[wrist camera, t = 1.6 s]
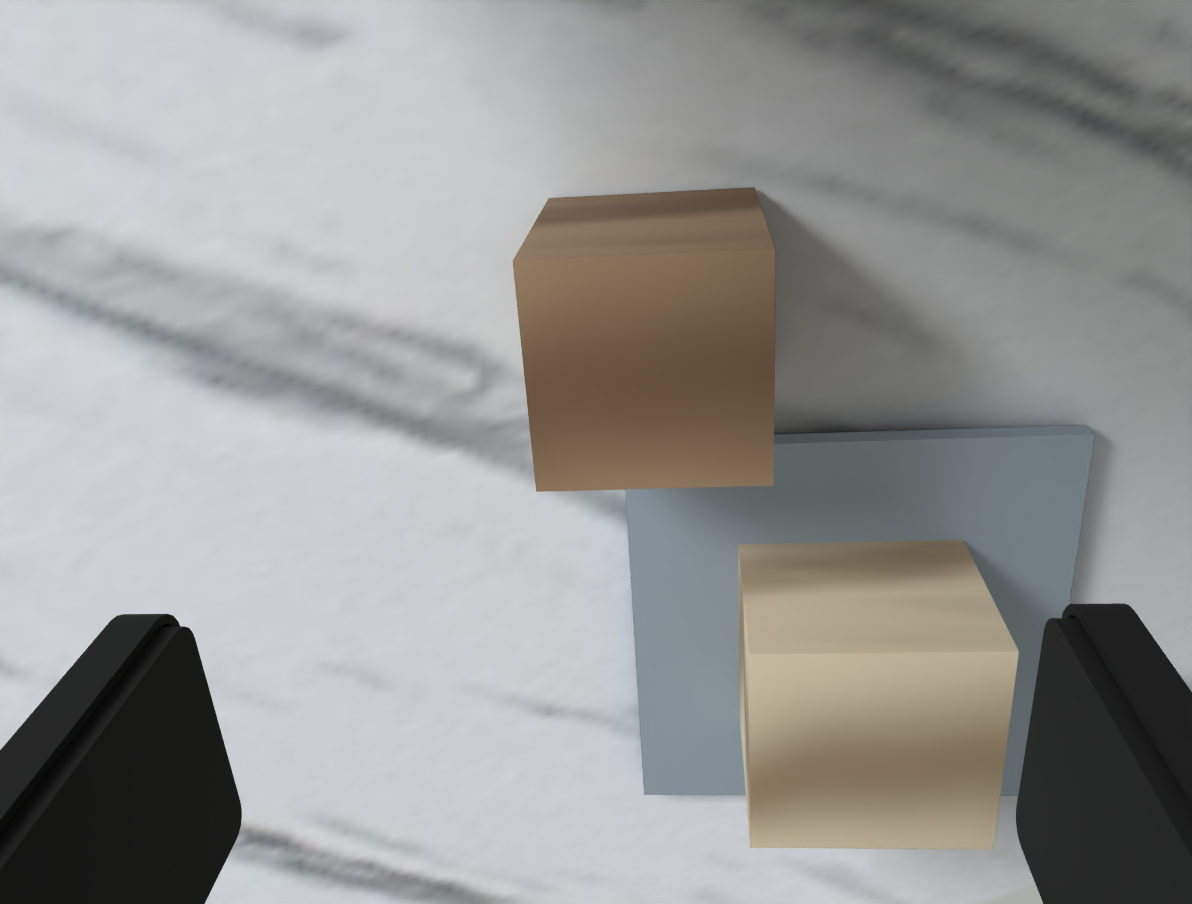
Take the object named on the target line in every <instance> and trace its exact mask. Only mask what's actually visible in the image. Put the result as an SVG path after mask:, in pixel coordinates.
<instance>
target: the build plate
mask: <svg viewBox="0 0 1192 904" xmlns="http://www.w3.org/2000/svg"><path fill="white" fill-rule="evenodd" d="M1094 437H1095V434H1094V433H1093V432H1092V431H1091V430H1090V428H1089V427H1088V426H1087V425H1070V426H1037V427H1004V428H971V429H938V430H905V431H873V432H840V433H807V434H774V486H737V487H698V488H658V489H626V506H627V522H628V538H629V555H630V571H631V587H632V604H633V620H634V636H635V653H636V669H637V685H638V702H639V718H640V734H641V751H642V767H643V783H644V795H746V789H745V777H744V764H743V752H742V739H741V727H740V687H739V580H738V544H778V543H827V542H876V541H925V540H964V542H965V544H966V546H967V548H968V550H969V552H970V554H971V556H972V558H973V560H974V562H975V564H976V566H977V568H978V570H979V572H980V574H981V576H982V578H983V580H984V582H985V584H986V586H987V588H988V590H989V592H990V594H991V596H992V598H993V600H994V602H995V604H996V606H997V608H998V610H999V612H1000V614H1001V616H1002V619H1003V621H1004V623H1005V625H1006V627H1007V629H1008V631H1009V633H1010V635H1011V637H1012V639H1013V641H1014V643H1015V645H1016V647H1017V649H1018V651H1019V655H1018V663H1017V670H1016V678H1015V686H1014V693H1013V701H1012V709H1011V716H1010V724H1009V732H1008V739H1007V747H1006V755H1005V762H1004V770H1003V778H1002V785H1001V793H1000V796H1018V794H1019V788H1020V781H1021V775H1022V768H1023V762H1024V755H1025V749H1026V743H1027V736H1028V730H1029V723H1030V717H1031V710H1032V704H1033V697H1034V691H1035V684H1036V678H1037V672H1038V665H1039V659H1040V652H1041V646H1042V639H1043V633H1044V628H1045V624H1046V622H1047V621H1048V620H1049V619H1050V618H1062V614H1063V611H1064V610H1065V608H1066V606H1068V605H1069V602H1070V595H1071V589H1072V582H1073V576H1074V569H1075V562H1076V556H1077V549H1078V543H1079V536H1080V530H1081V523H1082V516H1083V510H1084V503H1085V497H1086V490H1087V484H1088V477H1089V470H1090V464H1091V457H1092V451H1093V444H1094Z"/></svg>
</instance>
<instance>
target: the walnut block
mask: <svg viewBox="0 0 1192 904" xmlns="http://www.w3.org/2000/svg"><path fill="white" fill-rule="evenodd" d="M513 268H514V278H515V287H516V297H517V307H518V317H519V327H520V336H521V346H522V356H523V366H524V375H525V385H526V395H527V405H528V415H529V424H530V434H531V444H532V454H533V464H534V473H535V483H536V492H539V491H579V490H618V489H658V488H698V487H737V486H774V363H775V246H774V243H773V240H772V237H771V234H770V232H769V229H768V226H767V223H766V220H765V217H764V214H763V211H762V208H761V205H760V202H759V199H758V196H757V194H756V191H755V188H736V189H717V190H698V191H679V192H660V193H641V194H622V195H603V196H584V197H565V198H549V199H548V201H547V202H546V204H545V206H544V208H543V209H542V211H541V213H540V215H539V216H538V218H537V220H536V222H535V223H534V225H533V227H532V228H531V230H530V232H529V234H528V235H527V237H526V239H525V241H524V242H523V244H522V246H521V248H520V249H519V251H518V253H517V255H516V256H515V258H514V260H513Z"/></svg>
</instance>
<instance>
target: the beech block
mask: <svg viewBox="0 0 1192 904" xmlns="http://www.w3.org/2000/svg"><path fill="white" fill-rule="evenodd" d="M738 580H739V687H740V727H741V739H742V752H743V764H744V777H745V789H746V801H747V814H748V826H749V838H750V848H865V849H993V846H994V839H995V831H996V823H997V816H998V808H999V801H1000V793H1001V785H1002V778H1003V770H1004V762H1005V755H1006V747H1007V739H1008V732H1009V724H1010V716H1011V709H1012V701H1013V693H1014V686H1015V678H1016V670H1017V663H1018V655H1019V651H1018V649H1017V647H1016V645H1015V643H1014V641H1013V639H1012V637H1011V635H1010V633H1009V631H1008V629H1007V627H1006V625H1005V623H1004V621H1003V619H1002V616H1001V614H1000V612H999V610H998V608H997V606H996V604H995V602H994V600H993V598H992V596H991V594H990V592H989V590H988V588H987V586H986V584H985V582H984V580H983V578H982V576H981V574H980V572H979V570H978V568H977V566H976V564H975V562H974V560H973V558H972V556H971V554H970V552H969V550H968V548H967V546H966V544H965V542H964V540H925V541H876V542H827V543H778V544H738Z"/></svg>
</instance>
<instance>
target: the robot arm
mask: <svg viewBox="0 0 1192 904" xmlns="http://www.w3.org/2000/svg"><path fill="white" fill-rule="evenodd" d="M241 818H242V810H241V803H240V799H239V795H238V792H237V788H236V785H235V781H234V777H233V774H232V770H231V767H230V763H229V759H228V756H227V752H226V749H225V745H224V741H223V738H222V734H221V731H220V727H219V723H218V720H217V716H216V713H215V709H214V705H213V702H212V698H211V695H210V691H209V687H208V684H207V680H206V677H205V673H204V669H203V666H202V662H201V659H200V655H199V652H198V648H197V644H196V641H195V638H194V635H193V633H192V631H191V630H190V629H189V628H187V627H180V625H179V622H178V621H177V620H176V618H175V617H174V616H172V615H169V614H123V615H119V616H116V617H115V618H114V619H112V620H111V621H110V622H109V623H108V625H107V626H106V627H105V628H104V629H103V630H102V632H101V633H100V634H99V635H98V636H97V638H96V639H95V640H94V641H93V642H92V643H91V645H90V646H89V647H88V648H87V649H86V650H85V652H84V653H83V654H82V655H81V656H80V658H79V659H78V660H77V661H76V662H75V663H74V665H73V666H72V667H71V668H70V669H69V670H68V672H67V673H66V674H65V675H64V676H63V677H62V679H61V680H60V681H59V682H58V683H57V685H56V686H55V687H54V688H53V689H52V690H51V692H50V693H49V694H48V695H47V696H46V697H45V699H44V700H43V701H42V702H41V703H40V704H39V706H38V707H37V708H36V709H35V710H34V712H33V713H32V714H31V715H30V716H29V717H28V719H27V720H26V721H25V722H24V723H23V724H22V726H21V727H20V728H19V729H18V730H17V732H16V733H15V734H14V735H13V736H12V737H11V739H10V740H9V741H8V742H7V743H6V744H5V746H4V747H3V748H2V749H1V750H0V904H204V903H205V901H206V899H207V897H208V895H209V893H210V891H211V889H212V887H213V885H214V883H215V881H216V879H217V877H218V875H219V873H220V871H221V869H222V867H223V865H224V863H225V861H226V859H227V857H228V855H229V853H230V851H231V849H232V847H233V845H234V843H235V841H236V839H237V836H238V834H239V830H240V826H241ZM1016 824H1017V832H1018V837H1019V841H1020V844H1021V847H1022V850H1023V853H1024V855H1025V858H1026V860H1027V863H1028V865H1029V868H1030V871H1031V873H1032V876H1033V878H1034V881H1035V883H1036V886H1037V888H1038V891H1039V893H1040V896H1041V898H1042V901H1043V904H1192V692H1191V691H1190V689H1189V688H1188V686H1187V685H1186V684H1185V682H1184V681H1183V679H1182V678H1181V676H1180V675H1179V674H1178V672H1177V671H1176V669H1175V668H1174V667H1173V665H1172V664H1171V662H1170V661H1169V659H1168V658H1167V657H1166V655H1165V654H1164V652H1163V651H1162V649H1161V648H1160V647H1159V645H1158V644H1157V642H1156V641H1155V640H1154V638H1153V637H1152V635H1151V634H1150V632H1149V631H1148V630H1147V628H1146V627H1145V625H1144V624H1143V623H1142V621H1141V620H1140V618H1139V617H1138V615H1137V614H1136V613H1135V611H1134V610H1133V609H1132V608H1131V607H1130V606H1129V605H1126V604H1070V605H1068V606H1066V608H1065V610H1064V611H1063V614H1062V618H1050V619H1049V620H1048V621H1047V622H1046V624H1045V628H1044V633H1043V639H1042V646H1041V652H1040V659H1039V665H1038V672H1037V678H1036V684H1035V691H1034V697H1033V704H1032V710H1031V717H1030V723H1029V730H1028V736H1027V743H1026V749H1025V755H1024V762H1023V768H1022V775H1021V781H1020V788H1019V794H1018V801H1017V808H1016Z"/></svg>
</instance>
